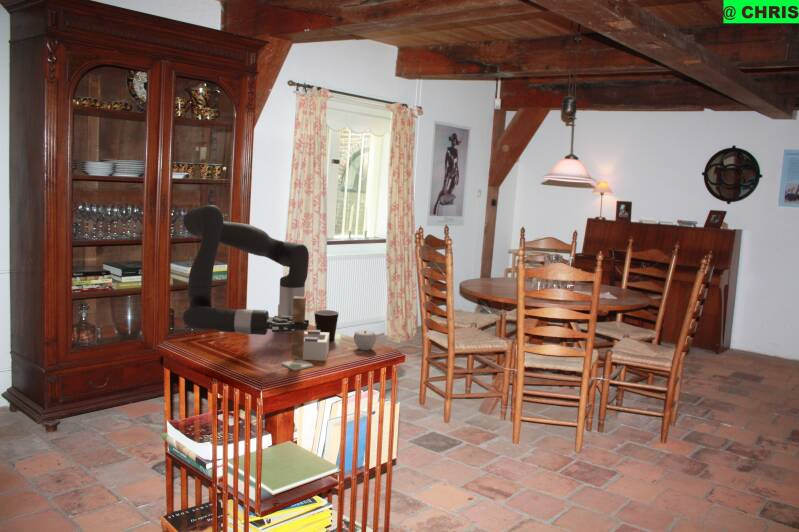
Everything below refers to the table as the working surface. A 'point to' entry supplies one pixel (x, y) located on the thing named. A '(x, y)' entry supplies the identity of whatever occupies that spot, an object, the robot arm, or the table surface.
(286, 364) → the coaster
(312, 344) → the box
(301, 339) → the walnut stick
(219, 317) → the robot arm
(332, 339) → the coffee mug
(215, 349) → the table surface
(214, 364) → the table surface
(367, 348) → the lidded sugar bowl
